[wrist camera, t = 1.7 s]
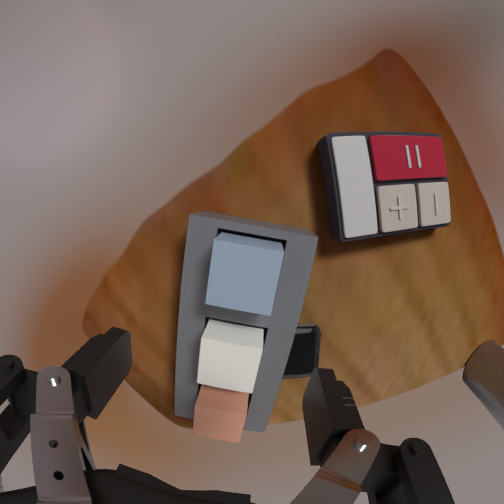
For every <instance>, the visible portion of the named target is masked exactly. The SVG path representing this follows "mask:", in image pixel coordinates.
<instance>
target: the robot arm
mask: <svg viewBox="0 0 504 504" xmlns="http://www.w3.org/2000/svg"><path fill="white" fill-rule="evenodd" d="M131 363H132V355H131V336H130V332H129V331H126V330H123V329H120V328H116V327H112V328H111V329H110V330H108V331H107V332H106V333H105V334H104V335H103V334H99V335H97V336H95V337H92V338H91V339H90V340H88V342H86V343H85V345H83V346H82V347H81V348H80V350H78V351H77V352H76V353H75V354H74V355H73V356H72V357H70V358H69V359H68V360H67V361H66V362H65V363H64V364H63V365H62V366H61V367H60V366H47V367H45V368H43V369H41V370H40V371H39V372H36V371H32V370H27V369H24V366H23V363H22V361H21V359H20V358H19V357H17V356H14V355H4V356H1V357H0V406H1V405H2V404H3V403H4V401H5V400H6V399H8V401H9V403H10V404H9V405H8V406H7V407H6V408H5V410H4V411H3V412H2V413H1V414H0V504H255V503H252V502H250V498H251V495H248V494H239V493H232V492H225V491H218V490H211V491H210V490H209V491H196V490H180V489H178V488H175V487H173V486H171V485H169V484H167V483H165V482H163V481H161V480H159V479H158V478H156V477H154V476H152V475H150V474H148V473H145V472H141V471H139V470H136V469H133V468H130V467H128V466H125V465H122V464H119V466H118V468H117V470H110V469H96V466H95V464H94V461H93V458H92V454H91V450H90V447H89V442H88V438H87V433H86V429H85V424H84V421H83V420H84V419H85V417H86V416H89V417H91V418H93V419H97V418H98V416H99V415H100V413H101V412H102V410H103V409H104V407H105V406H106V404H107V403H108V402H109V400H110V398H111V397H112V396H113V394H114V393H115V391H116V390H117V388H118V387H119V385H120V384H121V383H122V381H123V380H124V378H125V377H126V376H127V374H128V373H129V371H130V368H131ZM463 381H464V382H465V384H466V385H467V386H468V387H469V388H470V389H471V390H472V392H473V393H474V394H475V395H476V397H477V398H478V399H479V400H480V401H481V402H482V404H483V405H484V406H485V407H486V409H487V410H488V411H489V412H490V413H491V415H492V416H493V417H494V418H495V420H496V421H497V422H498V424H499V425H500V426H501V427H502V428H503V430H504V349H503V348H502V347H501V346H500V345H498V344H497V343H496V342H495V341H487V342H485V343H484V344H482V345H481V346H480V347H479V348H478V349H477V350H476V351H475V352H474V353H473V354H472V356H471V357H470V359H469V360H468V362H467V364H466V366H465V368H464V371H463ZM302 407H303V414H304V421H305V428H306V435H307V442H308V448H309V457H310V464H311V465H320V467H321V469H319V470H318V472H317V473H316V474H315V475H314V477H313V478H312V479H311V480H310V481H309V483H308V484H307V485H306V486H305V487H304V489H303V490H302V491H301V492H300V493H299V494H298V495H297V496H296V497H295V499H294V500H293V501H292V502H291V503H290V504H353V503H354V502H355V500H356V499H357V497H358V495H359V493H360V491H361V492H367V494H368V499H369V504H455V503H454V500H453V498H452V495H451V493H450V490H449V488H448V486H447V483H446V481H445V479H444V476H443V474H442V472H441V469H440V467H439V465H438V463H437V461H436V458H435V456H434V454H433V452H432V450H431V448H430V446H429V445H428V444H427V443H426V442H425V441H423V440H421V439H419V438H408V439H406V440H404V441H403V442H402V444H401V445H400V446H393V445H388V444H382V443H380V441H379V439H378V438H377V436H376V435H375V434H373V433H371V432H370V431H367V430H365V428H364V426H363V423H362V420H361V417H360V415H359V412H358V409H357V407H356V406H355V402H354V399H353V396H352V394H351V391H350V389H349V388H348V387H347V386H346V384H345V383H344V382H343V381H337V380H336V377H335V374H334V371H333V370H332V369H324V368H314V370H313V372H312V374H311V377H310V380H309V383H308V385H307V388H306V391H305V393H304V396H303V403H302ZM30 431H31V449H32V461H33V469H34V477H35V483H36V486H32V487H28V488H23V489H18V490H13V491H7V492H3V486H2V484H1V483H2V479H1V473H2V471H3V469H4V468H5V467H6V465H7V464H8V462H9V461H10V459H11V458H12V456H13V455H14V453H15V452H16V451H17V449H18V448H19V446H20V445H21V444H22V442H23V441H24V439H25V438H26V437H27V435H28V434H29V433H30Z"/></svg>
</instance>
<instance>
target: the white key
mask: <svg viewBox="0 0 504 504" xmlns="http://www.w3.org/2000/svg"><path fill="white" fill-rule="evenodd" d="M263 334H264V329H260V328H254V327H249V326H243V325H238V324H232V323H227V322H222V321H217V320H212V319H209V321H208V324H207V326H206V328H205V330H204V333H203V335H202V337H201V345H200V355H199V365H198V376H197V383H200V384H204V385H209V386H213V387H218V388H223V389H229V390H234V391H240V392H246V393H252V392H253V388H254V384H255V380H256V376H257V372H258V368H259V364H260V360H261V356H262V351H263Z"/></svg>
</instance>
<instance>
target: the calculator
mask: <svg viewBox="0 0 504 504" xmlns="http://www.w3.org/2000/svg"><path fill="white" fill-rule="evenodd" d="M318 147H319V152H320V158H321V164H322V171H323V177H324V184H325V191H326V199H327V206H328V214H329V223H330V232H331V236H332V237H334V238H335V239H337V240H339V241H341V242H350V241H356V240H362V239H369V238H375V237H382V236H388V235H394V234H401V233H407V232H413V231H419V230H426V229H432V228H438V227H444V226H449V225H450V201H449V190H448V182H447V172H446V164H445V157H444V151H443V145H442V140H441V137H440V135H439V134H435V133H418V132H346V133H329V134H327V135H325V136H324V137H323V138H322V139H320V140H319V141H318Z"/></svg>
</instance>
